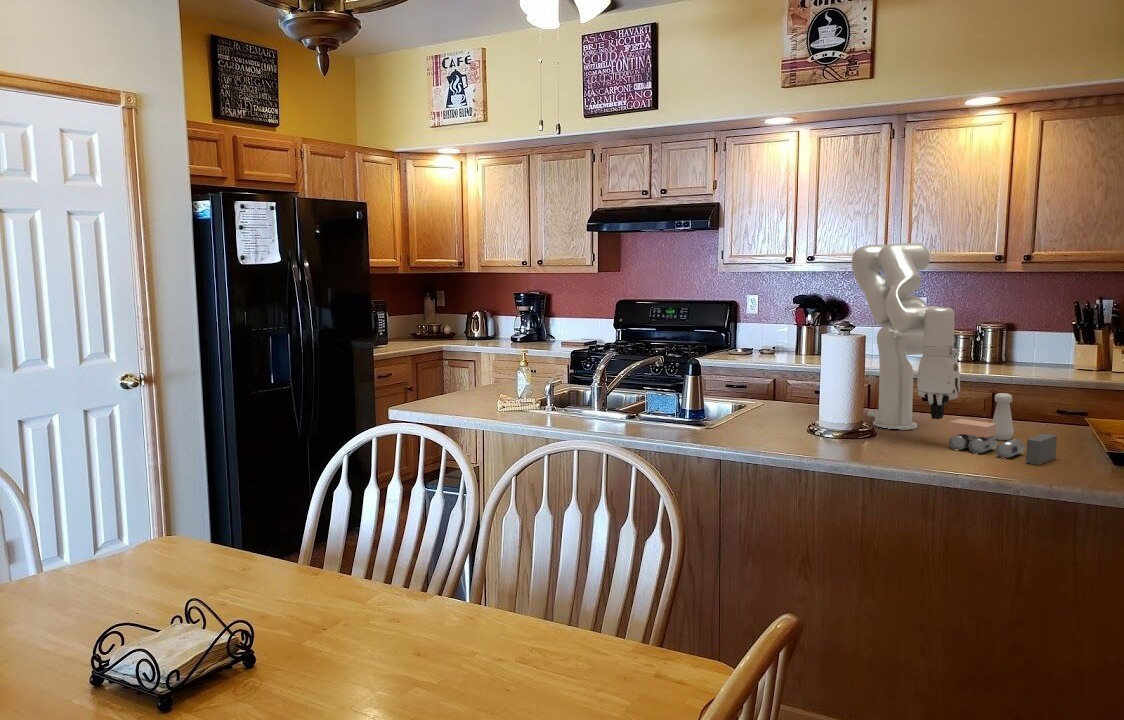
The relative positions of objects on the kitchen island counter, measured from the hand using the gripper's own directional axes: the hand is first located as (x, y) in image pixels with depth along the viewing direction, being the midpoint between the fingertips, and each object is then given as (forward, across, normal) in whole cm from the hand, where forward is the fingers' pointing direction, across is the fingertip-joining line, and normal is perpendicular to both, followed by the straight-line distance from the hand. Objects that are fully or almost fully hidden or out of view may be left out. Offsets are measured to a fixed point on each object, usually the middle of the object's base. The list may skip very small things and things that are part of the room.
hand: (937, 418), depth 216 cm
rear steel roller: (+8, -7, 0) cm, 10 cm away
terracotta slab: (+3, -9, 0) cm, 10 cm away
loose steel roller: (+8, -19, 0) cm, 21 cm away
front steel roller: (+8, -12, 0) cm, 14 cm away
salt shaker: (+7, -9, -18) cm, 22 cm away
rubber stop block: (+8, -26, 0) cm, 27 cm away
